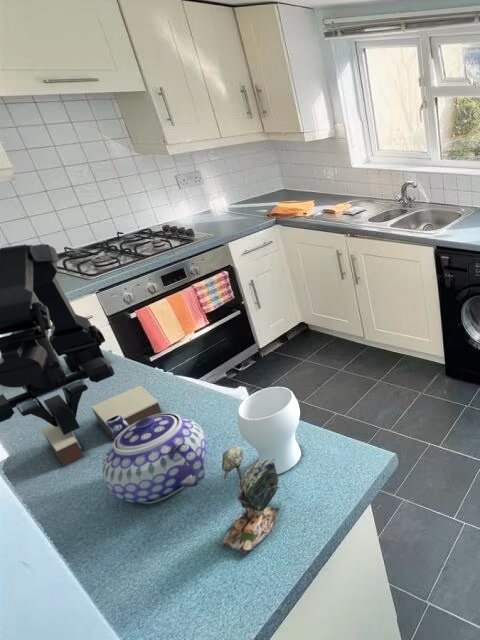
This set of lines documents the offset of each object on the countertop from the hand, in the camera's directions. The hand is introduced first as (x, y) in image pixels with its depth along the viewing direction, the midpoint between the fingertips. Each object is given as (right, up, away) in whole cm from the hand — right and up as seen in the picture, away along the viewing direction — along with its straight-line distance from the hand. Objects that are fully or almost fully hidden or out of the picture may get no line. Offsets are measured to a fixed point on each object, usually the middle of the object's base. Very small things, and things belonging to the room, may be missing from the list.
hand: (65, 421), depth 88 cm
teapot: (+25, -10, -5) cm, 28 cm away
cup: (+45, -8, 0) cm, 46 cm away
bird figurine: (+48, -13, -13) cm, 52 cm away
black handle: (0, -5, +2) cm, 6 cm away
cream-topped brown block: (-1, -7, +1) cm, 7 cm away
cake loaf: (+5, -3, +10) cm, 11 cm away
